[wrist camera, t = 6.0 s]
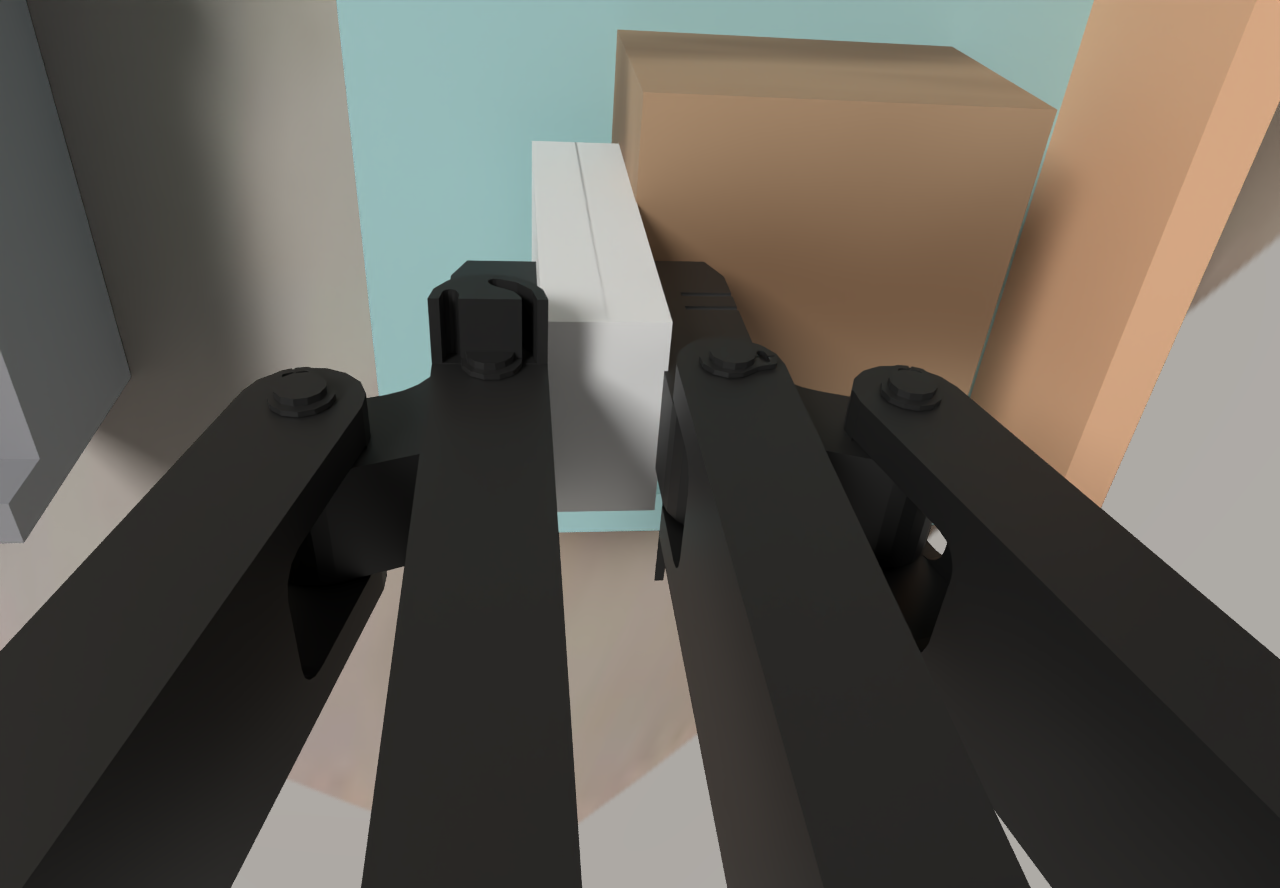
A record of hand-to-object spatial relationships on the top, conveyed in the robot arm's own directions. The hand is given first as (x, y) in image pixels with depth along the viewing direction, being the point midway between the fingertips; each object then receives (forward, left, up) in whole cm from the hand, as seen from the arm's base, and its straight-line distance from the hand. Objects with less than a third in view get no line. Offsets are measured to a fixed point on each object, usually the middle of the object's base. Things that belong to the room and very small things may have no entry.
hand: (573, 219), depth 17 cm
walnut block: (0, +4, -1) cm, 4 cm away
